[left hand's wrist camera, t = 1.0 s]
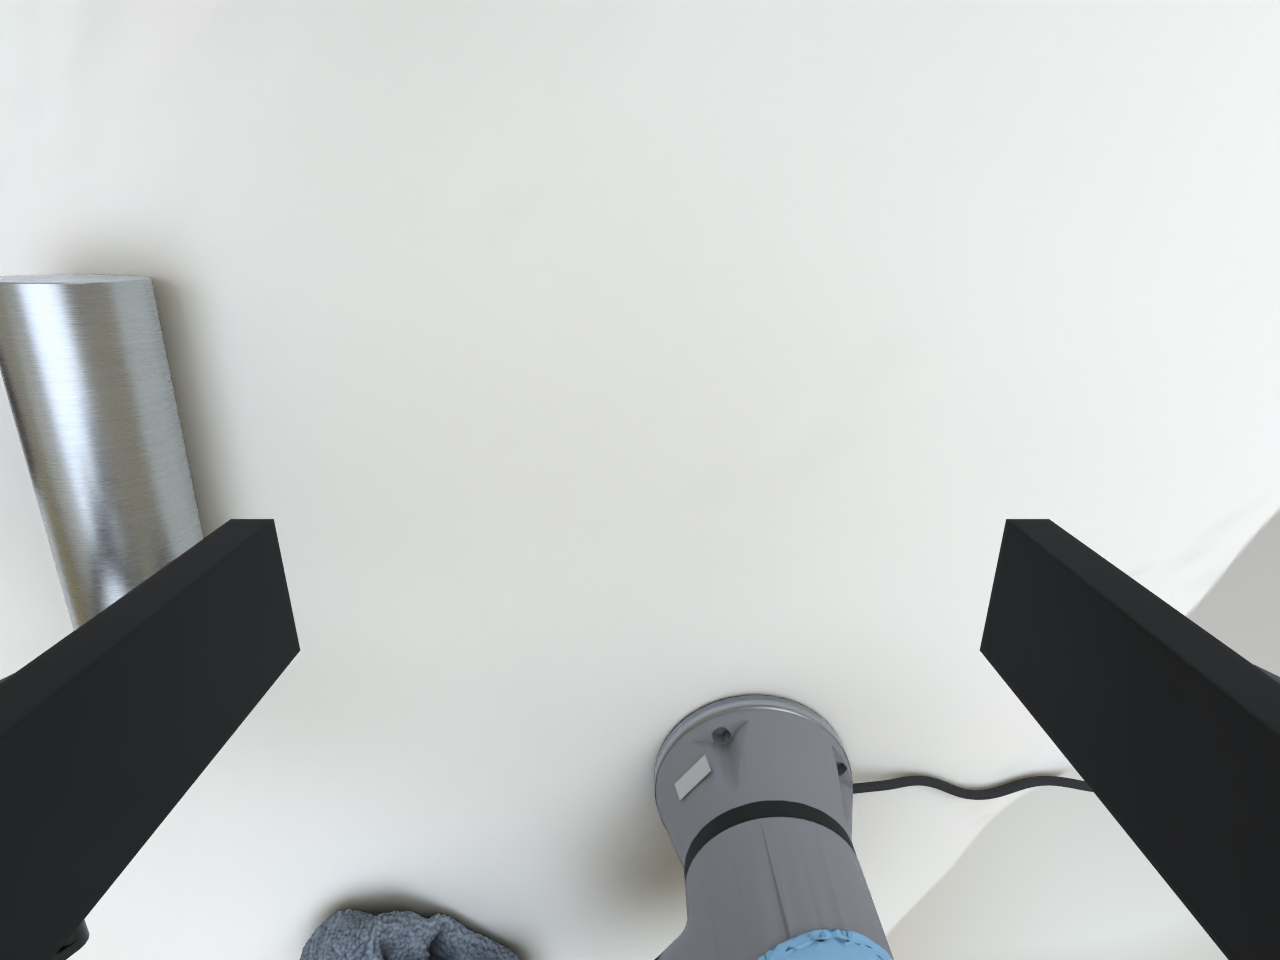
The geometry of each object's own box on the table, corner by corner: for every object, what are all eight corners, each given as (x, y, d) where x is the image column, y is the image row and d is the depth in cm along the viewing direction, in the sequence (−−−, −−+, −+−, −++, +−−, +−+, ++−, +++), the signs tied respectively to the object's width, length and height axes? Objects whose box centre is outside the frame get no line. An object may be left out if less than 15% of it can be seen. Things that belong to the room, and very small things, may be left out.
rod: (54, 273, 42) (-69, 280, 35) (180, 276, 42) (85, 284, 35) (148, 655, 51) (66, 724, 44) (251, 657, 51) (187, 726, 44)
